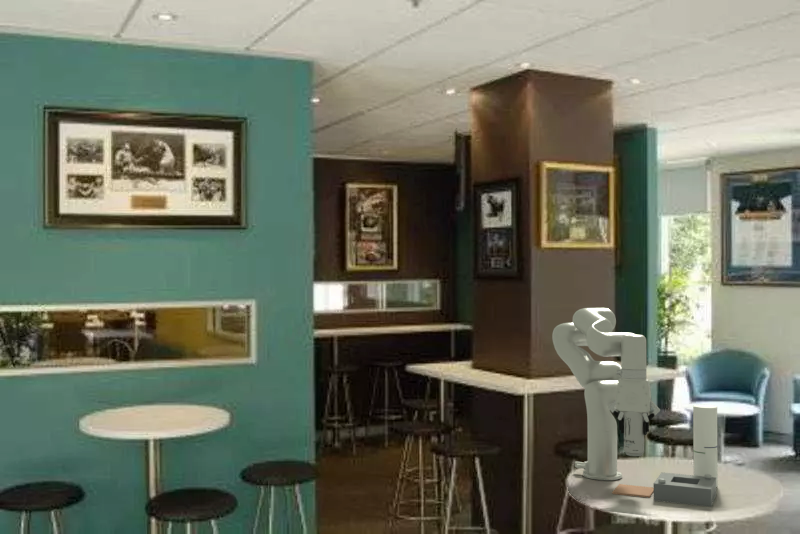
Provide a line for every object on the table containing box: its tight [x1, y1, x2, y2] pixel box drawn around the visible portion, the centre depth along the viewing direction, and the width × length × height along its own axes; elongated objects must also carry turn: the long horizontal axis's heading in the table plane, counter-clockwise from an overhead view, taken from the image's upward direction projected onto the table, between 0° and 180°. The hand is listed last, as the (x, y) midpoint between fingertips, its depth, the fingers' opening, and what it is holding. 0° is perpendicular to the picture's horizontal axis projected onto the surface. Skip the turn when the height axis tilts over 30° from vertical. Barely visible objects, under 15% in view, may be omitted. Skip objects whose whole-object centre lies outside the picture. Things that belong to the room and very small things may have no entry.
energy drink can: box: [623, 411, 645, 457], centre depth 257 cm, size 6×6×15 cm
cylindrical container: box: [692, 404, 719, 488], centre depth 265 cm, size 7×7×25 cm
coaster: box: [611, 483, 654, 499], centre depth 257 cm, size 11×11×1 cm
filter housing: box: [653, 472, 717, 508], centre depth 251 cm, size 16×16×6 cm
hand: (634, 433), depth 257 cm, fingers closed on energy drink can, 6 cm apart
